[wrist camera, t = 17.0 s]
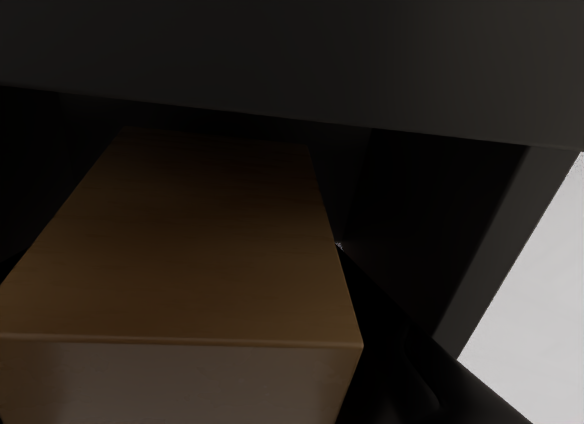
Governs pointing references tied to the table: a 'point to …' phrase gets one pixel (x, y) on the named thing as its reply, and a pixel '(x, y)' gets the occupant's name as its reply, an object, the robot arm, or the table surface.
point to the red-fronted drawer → (333, 186)
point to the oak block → (181, 292)
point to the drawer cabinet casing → (319, 60)
